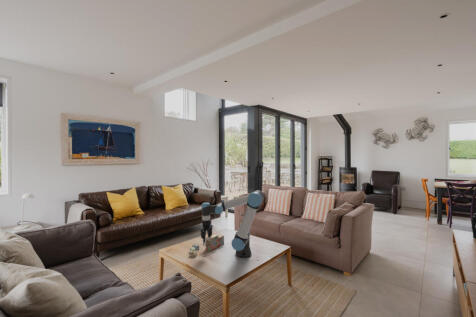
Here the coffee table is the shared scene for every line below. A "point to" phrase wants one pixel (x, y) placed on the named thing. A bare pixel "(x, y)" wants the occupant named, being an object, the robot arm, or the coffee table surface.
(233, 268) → the coffee table surface
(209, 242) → the walnut brick
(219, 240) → the stack of blocks
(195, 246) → the grey brick
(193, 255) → the maple brick
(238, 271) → the coffee table surface
